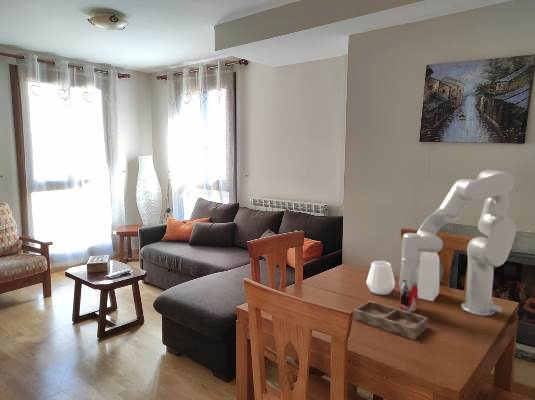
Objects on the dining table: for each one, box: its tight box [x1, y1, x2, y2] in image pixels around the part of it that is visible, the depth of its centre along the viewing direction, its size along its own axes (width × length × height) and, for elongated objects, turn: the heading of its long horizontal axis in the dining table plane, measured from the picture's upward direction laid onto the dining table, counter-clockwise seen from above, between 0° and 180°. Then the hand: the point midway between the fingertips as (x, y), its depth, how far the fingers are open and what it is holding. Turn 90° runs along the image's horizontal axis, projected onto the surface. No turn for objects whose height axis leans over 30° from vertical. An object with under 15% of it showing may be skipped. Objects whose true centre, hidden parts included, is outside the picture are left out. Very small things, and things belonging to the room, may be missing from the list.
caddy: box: [352, 300, 429, 340], centre depth 151 cm, size 25×13×4 cm, turn 47°
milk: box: [417, 251, 440, 302], centre depth 180 cm, size 12×12×26 cm
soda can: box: [399, 283, 419, 313], centre depth 163 cm, size 7×7×12 cm
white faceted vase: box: [366, 260, 396, 296], centre depth 185 cm, size 13×13×14 cm
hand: (408, 301), depth 164 cm, fingers open, 7 cm apart
